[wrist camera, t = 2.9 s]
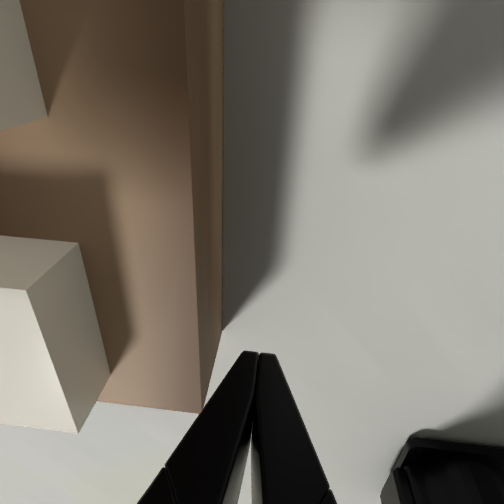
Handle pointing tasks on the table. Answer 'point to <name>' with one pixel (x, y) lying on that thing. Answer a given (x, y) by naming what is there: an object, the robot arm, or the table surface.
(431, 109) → the table surface
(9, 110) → the tile
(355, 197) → the table surface
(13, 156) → the board
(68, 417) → the tile
